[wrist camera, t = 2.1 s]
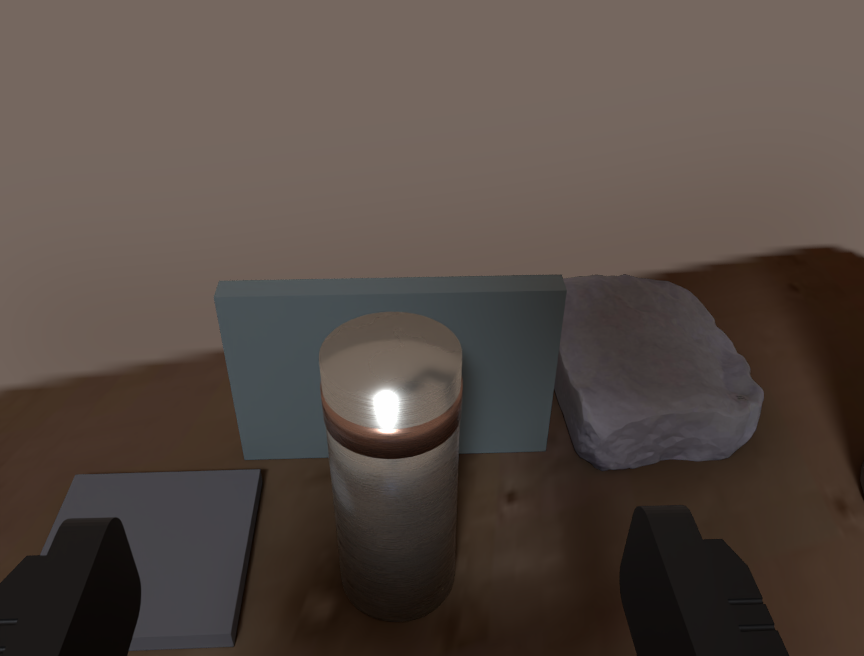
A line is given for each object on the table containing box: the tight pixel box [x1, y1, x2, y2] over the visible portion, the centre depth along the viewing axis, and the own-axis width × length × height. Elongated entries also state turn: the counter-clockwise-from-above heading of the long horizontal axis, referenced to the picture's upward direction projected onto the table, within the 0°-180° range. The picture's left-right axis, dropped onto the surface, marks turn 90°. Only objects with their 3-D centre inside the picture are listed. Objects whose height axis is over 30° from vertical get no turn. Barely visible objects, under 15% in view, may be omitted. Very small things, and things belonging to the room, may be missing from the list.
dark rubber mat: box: [40, 469, 262, 651], centre depth 31 cm, size 8×8×1 cm
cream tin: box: [319, 312, 463, 622], centre depth 27 cm, size 5×5×11 cm
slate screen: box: [214, 275, 567, 460], centre depth 34 cm, size 14×1×9 cm, turn 93°
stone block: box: [554, 274, 764, 471], centre depth 39 cm, size 12×5×10 cm
